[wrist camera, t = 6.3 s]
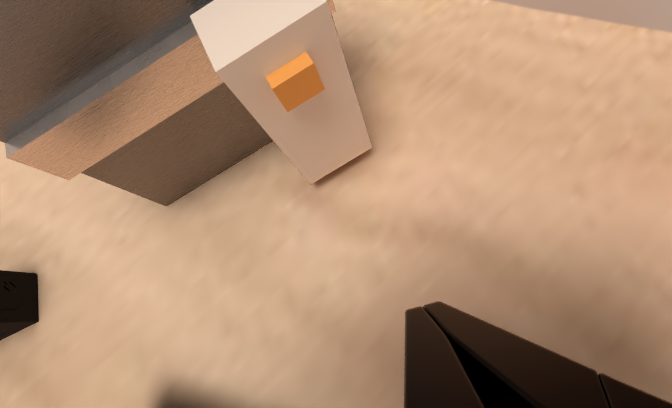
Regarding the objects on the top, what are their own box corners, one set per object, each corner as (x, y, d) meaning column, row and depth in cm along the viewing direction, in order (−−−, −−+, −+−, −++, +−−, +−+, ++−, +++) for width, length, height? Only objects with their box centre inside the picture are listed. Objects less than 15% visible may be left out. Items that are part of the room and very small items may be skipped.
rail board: (359, 99, 25) (275, -211, 10) (169, 216, 26) (-169, 95, 11) (325, 51, 27) (215, -260, 12) (151, 160, 28) (-149, -4, 13)
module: (378, 155, 21) (336, 12, 11) (315, 193, 22) (221, 85, 12) (345, 109, 23) (286, -48, 14) (288, 144, 24) (189, 15, 14)
